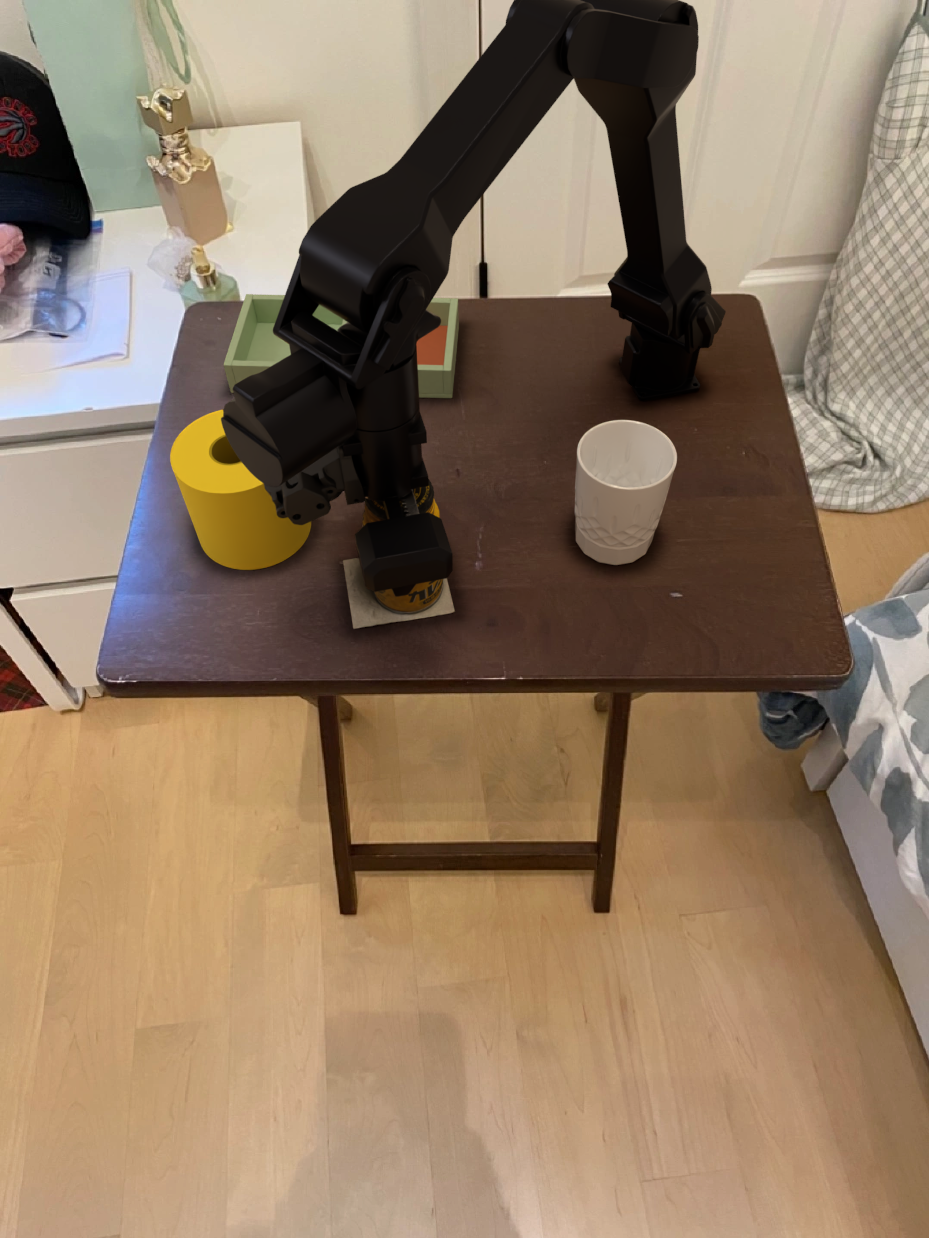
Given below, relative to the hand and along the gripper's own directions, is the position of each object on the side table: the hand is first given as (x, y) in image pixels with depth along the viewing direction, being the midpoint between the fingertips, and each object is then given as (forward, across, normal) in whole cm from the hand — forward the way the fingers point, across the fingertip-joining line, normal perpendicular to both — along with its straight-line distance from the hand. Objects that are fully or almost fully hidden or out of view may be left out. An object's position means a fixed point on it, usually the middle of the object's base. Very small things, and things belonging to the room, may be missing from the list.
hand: (391, 556), depth 76 cm
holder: (+4, -31, +1) cm, 32 cm away
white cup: (+4, -1, +20) cm, 20 cm away
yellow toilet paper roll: (+5, -10, -11) cm, 16 cm away
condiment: (+5, 0, 0) cm, 5 cm away
